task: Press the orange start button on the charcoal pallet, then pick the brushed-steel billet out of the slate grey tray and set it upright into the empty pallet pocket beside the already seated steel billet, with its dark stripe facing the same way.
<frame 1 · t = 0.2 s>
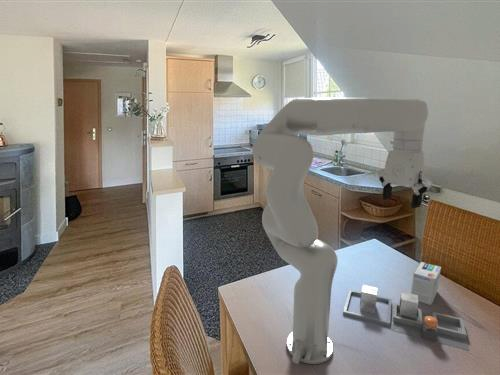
hand: (400, 202, 95), 37 cm above the table, tool pointing down, fingers open, 9 cm apart
tray: (367, 310, 104), on the table
billet: (367, 308, 104), point 1 cm above the table, touching tray
start button: (430, 322, 90), point 6 cm above the table, slide at 0.0 cm
light bulb box: (423, 298, 111), on the table
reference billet: (407, 317, 99), point 1 cm above the table, touching pallet
pallet: (427, 329, 95), on the table
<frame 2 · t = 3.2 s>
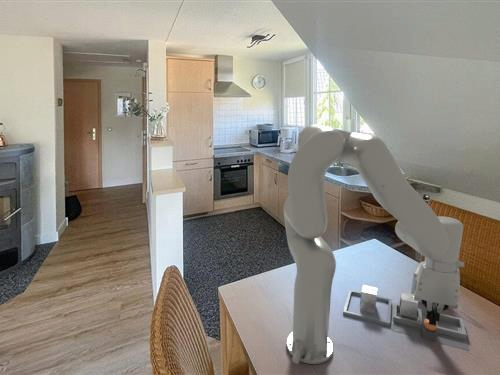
hand: (432, 321, 90), 6 cm above the table, tool pointing down, fingers closed
start button: (430, 324, 90), point 5 cm above the table, slide at 0.8 cm, touching gripper
everything else where it was.
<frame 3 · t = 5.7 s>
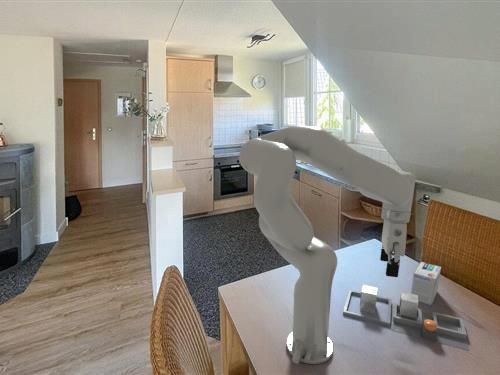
hand: (388, 268, 96), 17 cm above the table, tool pointing down, fingers open, 9 cm apart
start button: (430, 325, 90), point 4 cm above the table, slide at 1.1 cm
everything else where it was.
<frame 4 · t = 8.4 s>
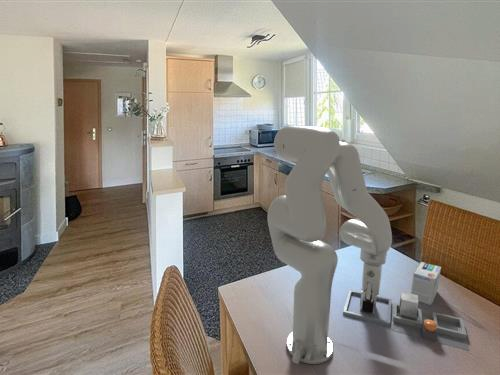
hand: (368, 306, 104), 2 cm above the table, tool pointing down, fingers closed on billet, 4 cm apart
billet: (367, 308, 104), point 1 cm above the table, touching gripper, tray
everything else where it was.
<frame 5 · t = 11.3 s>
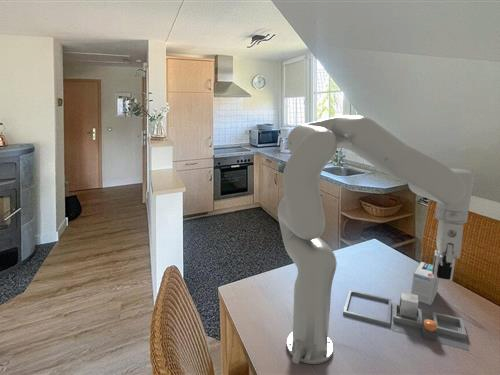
hand: (442, 273, 92), 18 cm above the table, tool pointing down, fingers closed on billet, 4 cm apart
billet: (441, 276, 92), point 17 cm above the table, touching gripper
everything else where it was.
when the fingers open (3 cm above the table, at t = 14.7 s): billet drops 1 cm, resting on pallet.
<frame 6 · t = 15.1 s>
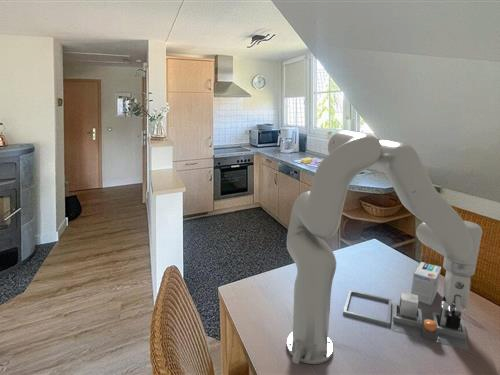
hand: (449, 318, 94), 4 cm above the table, tool pointing down, fingers open, 8 cm apart
billet: (447, 327, 95), point 1 cm above the table, touching pallet
everything else where it was.
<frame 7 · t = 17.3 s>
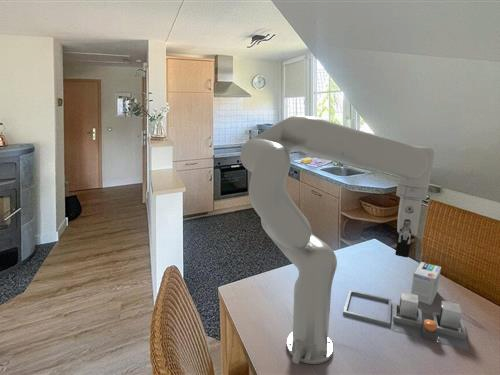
hand: (402, 249, 91), 25 cm above the table, tool pointing down, fingers open, 9 cm apart
nothing on the table moved.
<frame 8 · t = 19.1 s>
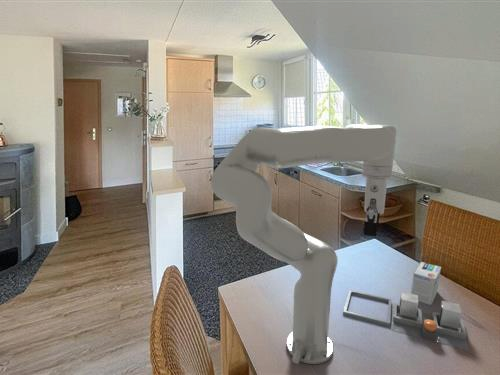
hand: (371, 229, 92), 30 cm above the table, tool pointing down, fingers open, 9 cm apart
nothing on the table moved.
at the end: billet 0.1 cm from the target spot on the pallet, point 1.0 cm above the pallet's base; billet tilted 0°; start button slide at 1.1 cm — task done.
